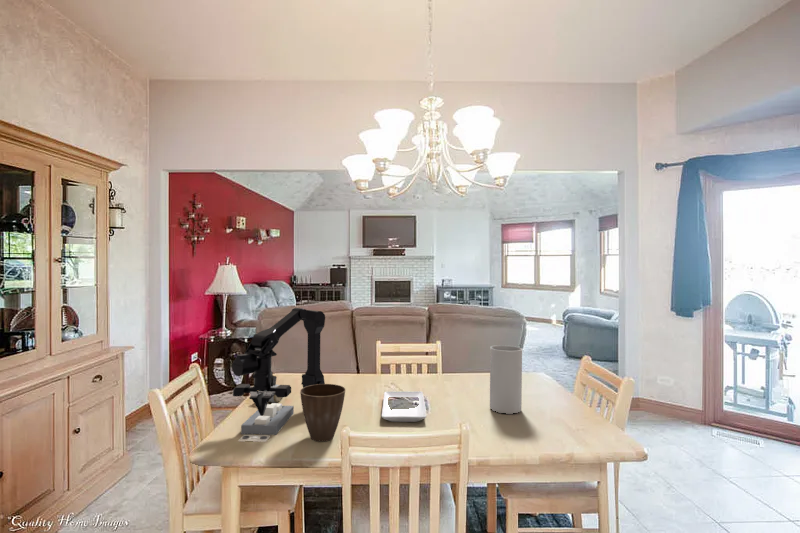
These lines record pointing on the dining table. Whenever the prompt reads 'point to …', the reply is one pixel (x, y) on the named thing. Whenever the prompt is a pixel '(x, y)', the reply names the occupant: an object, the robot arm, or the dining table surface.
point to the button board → (272, 426)
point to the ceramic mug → (274, 398)
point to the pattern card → (255, 438)
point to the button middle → (270, 410)
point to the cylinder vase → (505, 379)
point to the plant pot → (322, 409)
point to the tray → (404, 414)
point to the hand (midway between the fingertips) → (262, 415)
